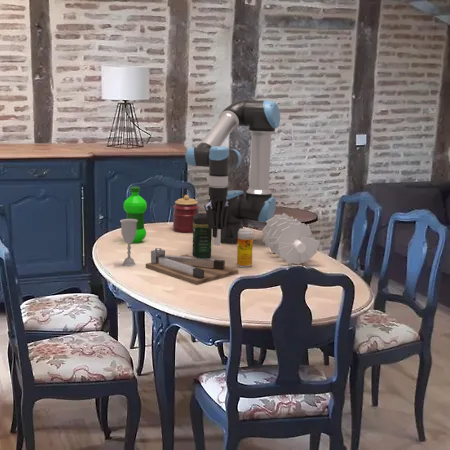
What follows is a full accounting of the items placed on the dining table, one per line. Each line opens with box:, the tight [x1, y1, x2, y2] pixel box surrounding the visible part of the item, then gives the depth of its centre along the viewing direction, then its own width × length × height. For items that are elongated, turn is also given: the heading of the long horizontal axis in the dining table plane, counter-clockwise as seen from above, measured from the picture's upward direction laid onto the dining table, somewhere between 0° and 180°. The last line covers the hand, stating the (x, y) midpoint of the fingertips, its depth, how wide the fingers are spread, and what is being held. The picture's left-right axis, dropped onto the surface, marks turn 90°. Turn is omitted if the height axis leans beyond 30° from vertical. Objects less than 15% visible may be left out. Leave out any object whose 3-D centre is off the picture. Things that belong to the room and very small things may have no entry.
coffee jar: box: [191, 212, 213, 259], centre depth 290 cm, size 10×8×19 cm
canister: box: [172, 194, 200, 234], centre depth 337 cm, size 13×13×18 cm
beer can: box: [236, 227, 254, 268], centre depth 278 cm, size 6×6×15 cm
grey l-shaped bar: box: [150, 247, 204, 279], centre depth 267 cm, size 28×5×6 cm, turn 45°
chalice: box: [119, 218, 138, 267], centre depth 276 cm, size 7×7×18 cm
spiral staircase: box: [261, 212, 321, 266], centre depth 290 cm, size 18×18×25 cm
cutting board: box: [145, 254, 239, 285], centre depth 272 cm, size 22×30×2 cm
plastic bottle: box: [122, 186, 148, 244], centre depth 312 cm, size 10×10×25 cm
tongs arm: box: [165, 254, 226, 269], centre depth 272 cm, size 24×2×3 cm, turn 75°
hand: (216, 244), depth 274 cm, fingers closed
